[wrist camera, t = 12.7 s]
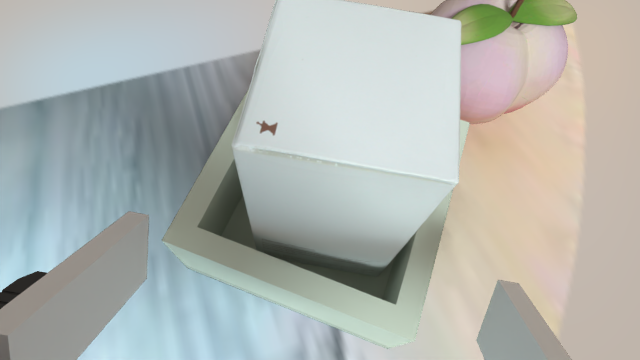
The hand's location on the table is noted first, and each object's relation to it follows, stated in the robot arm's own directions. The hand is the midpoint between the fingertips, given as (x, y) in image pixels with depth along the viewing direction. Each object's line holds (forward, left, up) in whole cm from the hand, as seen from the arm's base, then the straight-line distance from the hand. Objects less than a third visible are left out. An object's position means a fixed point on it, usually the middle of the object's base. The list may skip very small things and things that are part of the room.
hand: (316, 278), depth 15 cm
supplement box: (-1, +6, -8) cm, 10 cm away
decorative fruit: (+5, +18, -9) cm, 21 cm away
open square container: (-1, +6, -9) cm, 11 cm away
